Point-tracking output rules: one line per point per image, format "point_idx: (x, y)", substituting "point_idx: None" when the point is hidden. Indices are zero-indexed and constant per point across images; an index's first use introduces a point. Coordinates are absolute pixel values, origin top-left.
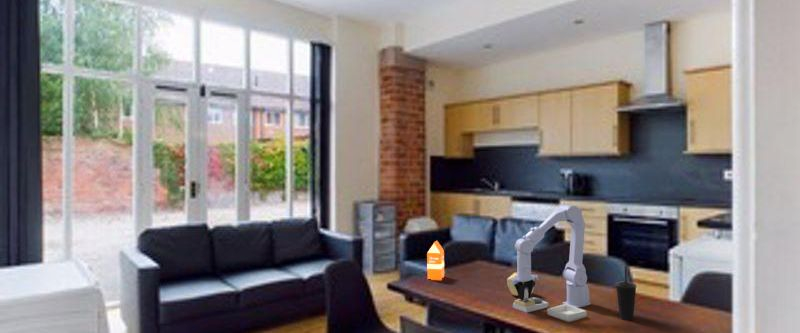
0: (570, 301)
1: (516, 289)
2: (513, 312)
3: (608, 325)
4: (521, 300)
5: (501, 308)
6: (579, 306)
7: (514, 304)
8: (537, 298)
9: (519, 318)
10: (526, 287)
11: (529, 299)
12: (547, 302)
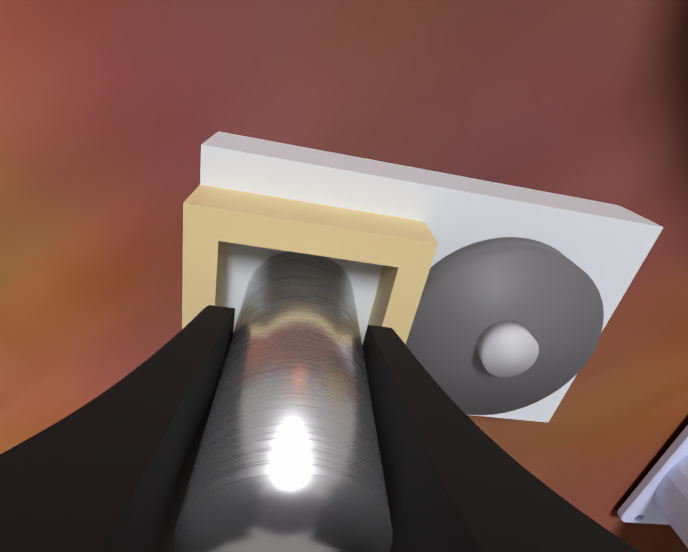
0: (685, 507)
1: (61, 428)
2: (76, 257)
3: None
4: (238, 317)
5: (23, 13)
6: (645, 523)
7: (204, 177)
8: (567, 341)
9: (6, 400)
10: (367, 549)
11: (406, 338)
12: (545, 417)
